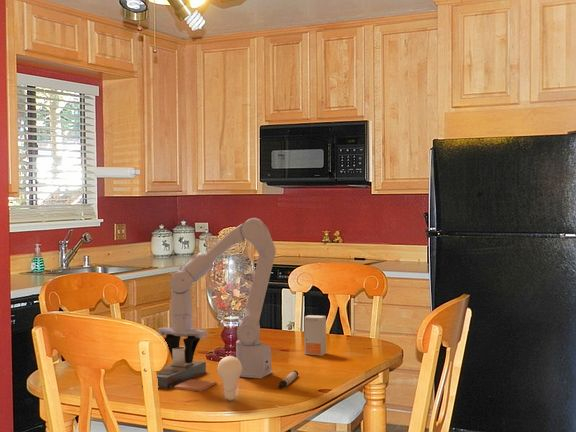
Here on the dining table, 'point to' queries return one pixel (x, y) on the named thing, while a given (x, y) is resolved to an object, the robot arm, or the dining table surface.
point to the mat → (195, 385)
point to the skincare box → (315, 335)
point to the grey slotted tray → (179, 374)
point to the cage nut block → (180, 357)
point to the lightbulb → (229, 375)
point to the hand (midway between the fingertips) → (182, 362)
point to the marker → (288, 379)
